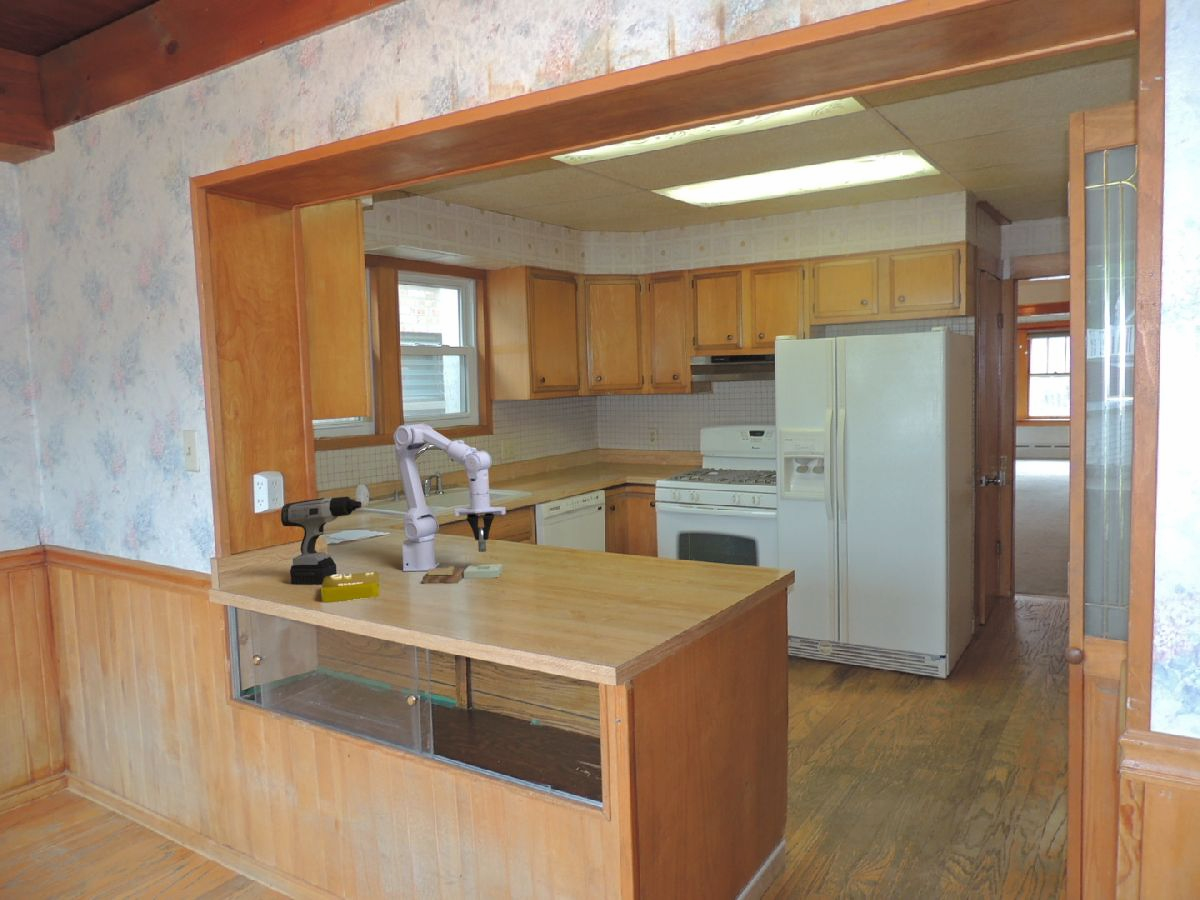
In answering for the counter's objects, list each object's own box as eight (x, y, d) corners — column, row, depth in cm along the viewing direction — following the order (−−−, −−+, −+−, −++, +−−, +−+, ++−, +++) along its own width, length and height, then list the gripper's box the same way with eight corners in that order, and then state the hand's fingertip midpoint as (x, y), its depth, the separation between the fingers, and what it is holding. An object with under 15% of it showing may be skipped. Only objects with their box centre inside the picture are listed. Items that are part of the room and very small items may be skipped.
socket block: (423, 583, 243) (422, 577, 242) (431, 576, 252) (430, 569, 251) (458, 583, 242) (457, 576, 242) (464, 575, 251) (464, 568, 251)
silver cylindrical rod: (477, 552, 249) (476, 528, 249) (479, 550, 251) (478, 526, 251) (485, 551, 249) (484, 528, 248) (486, 550, 251) (485, 526, 251)
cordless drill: (359, 585, 244) (353, 498, 241) (281, 584, 249) (274, 499, 246) (371, 578, 251) (366, 494, 249) (296, 577, 256) (289, 495, 254)
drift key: (427, 575, 243) (427, 568, 242) (429, 573, 245) (429, 566, 245) (452, 575, 242) (452, 568, 242) (454, 573, 244) (454, 566, 244)
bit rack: (464, 578, 247) (463, 571, 247) (469, 571, 255) (469, 565, 255) (498, 577, 247) (498, 570, 247) (503, 570, 255) (502, 564, 254)
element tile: (321, 604, 226) (320, 587, 226) (325, 591, 241) (323, 574, 240) (380, 599, 230) (379, 581, 229) (380, 585, 244) (379, 569, 244)
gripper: (451, 496, 245) (454, 542, 247) (501, 494, 244) (504, 541, 246) (457, 492, 252) (459, 538, 254) (505, 491, 251) (508, 536, 253)
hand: (481, 539), depth 250 cm, fingers closed on silver cylindrical rod, 2 cm apart
